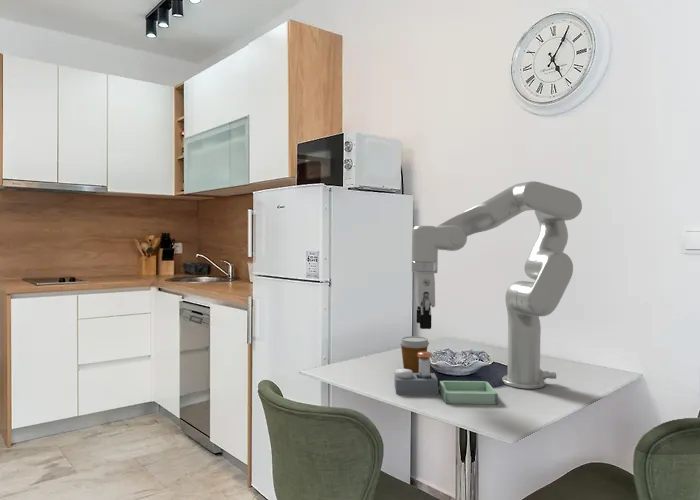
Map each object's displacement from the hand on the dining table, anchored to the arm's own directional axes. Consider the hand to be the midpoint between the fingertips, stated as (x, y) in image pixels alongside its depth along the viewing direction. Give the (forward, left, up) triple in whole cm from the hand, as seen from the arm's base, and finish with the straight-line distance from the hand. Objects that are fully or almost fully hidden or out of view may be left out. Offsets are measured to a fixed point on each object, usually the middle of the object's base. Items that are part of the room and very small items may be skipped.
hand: (423, 325), depth 151 cm
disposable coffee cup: (+1, -16, -19) cm, 25 cm away
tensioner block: (+2, 0, -19) cm, 19 cm away
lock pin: (0, 0, -19) cm, 19 cm away
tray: (-12, +6, -19) cm, 23 cm away
